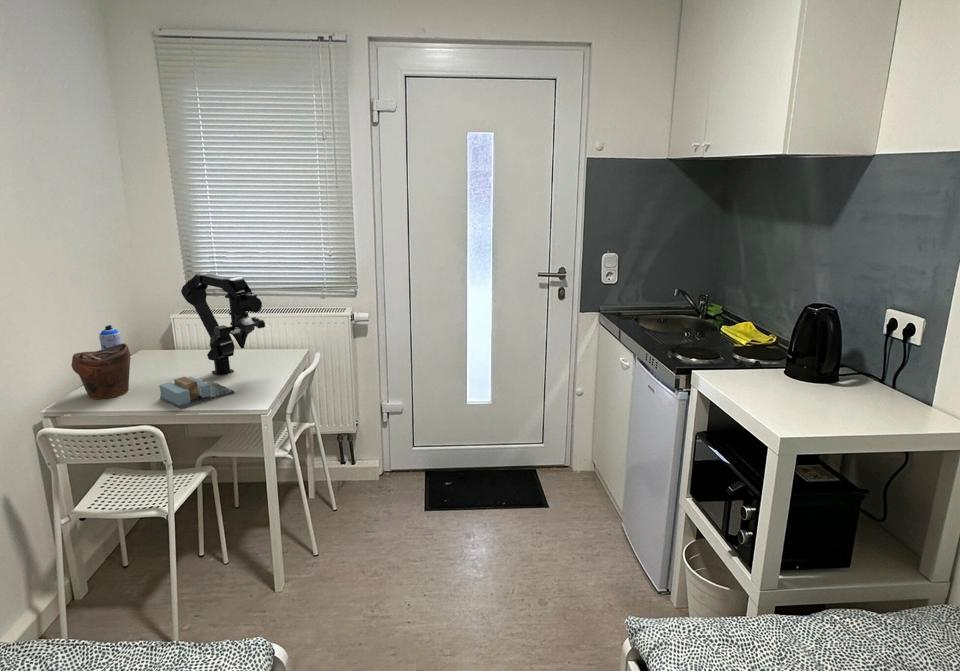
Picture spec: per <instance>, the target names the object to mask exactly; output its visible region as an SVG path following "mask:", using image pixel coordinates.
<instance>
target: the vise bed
mask: <svg viewBox="0 0 960 671" xmlns="http://www.w3.org/2000/svg"><path fill="white" fill-rule="evenodd" d="M206 383H207V384H209V385H210V391H211V396H208V397H204V398H202V397H200V396H199V398H195V399H192V400H190V403H187V404H183V405H180V406H179V405H177V404H175V403H173V402H171V401H169V400H167V399H165V398H163V397H161V395H160V396H159V399H160V400H162V401H164V402H166V403H167V404H170V405H172V406H174V407H176V408H178V409H180V410H181V409H185V408H188V407H192V406H196V405H199V404H203V403H205V402H209V401H212V400H213V401H214V400H217V399H220V398H223V397H226V396H230V395H233V394H235V390H233V389H231V388H229V387H226V386H224V385H221V384H219V383H217V382H214V381H211V382H206Z"/></svg>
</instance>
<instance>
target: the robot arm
mask: <svg viewBox="0 0 960 671" xmlns="http://www.w3.org/2000/svg"><path fill="white" fill-rule="evenodd" d="M209 286H210V287H215V288H219V289H222V291H223V292H224V293H226V295H225V296H224V298H225V299H228V301H229V309H230V310H229V312H228V315H229V316H230V319H231V320H230V322H229V323H230V326H227V325H224V324H223V325H219V324H218V321H217V319H216V318H215V315H214V313H213V312H212V310H211V308H210V306H209V304H208V302H207V295H208V293H207V289H208V288H209ZM180 291H181V295H182V296H183V298H184V299H185V301H186V302H187V303H189V304H190V305H192V306H193V307H194V309H195V311H196V312H197V315H198V316H199V318H200V320H201V323H202V324H203V326H204V328H205V330H206V332H207V334H208V336H209V338H210V339H209V347H210V350H209V352H207V355H206V356H207V358H208V360H209V361H213V365H214V370H211V373H212V374H215V375H218V376H220V375H226V374H229V373H233V372H235V371H234V369H232V368H231V366H230V358H229V357H234V354H235V343H234V342H235V341H236V343H237V344H238V346H239V349H245V345H246V341H247V338H248V335H250V333H252V332H253V331H254V330H255V327H256V328H257V329H263V328H265V327H266V322H265V320H262V319H260V318H259V317H258V316H253V317H252V316H251V317H250V316H249V313H248V312H250V313H259V312H260V311H261V310H262V306H263V304H262V301H261V299H260V298H259V297H258V295H257V294H256V293H253V291H252V289H251V288H250V286H249V285H248V283H247V281H246V280H245V278H244V277H242V276H232V277H226V276H220V275H216V274H211V273H208V272H201V273H200V272H199V273H195V275H194V276H193V277H192V278H191V279H190V280H188V281H186V283H184V285H183V286H182V287H181V290H180ZM231 335H232V336H233V337H234V339H235V341H234V340H233V338H232V337H231Z"/></svg>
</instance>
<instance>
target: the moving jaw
mask: <svg viewBox="0 0 960 671" xmlns="http://www.w3.org/2000/svg"><path fill="white" fill-rule="evenodd" d="M187 378H189V379H192V380H194V381H196V382H197V387H198V394H199V396H200V397H202V398H204V397H208V396H211V391H210V385H209V384H207V383H208V382H204V381H202V380H200V379H198V378H195V377H192V376H189V377H187Z"/></svg>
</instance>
